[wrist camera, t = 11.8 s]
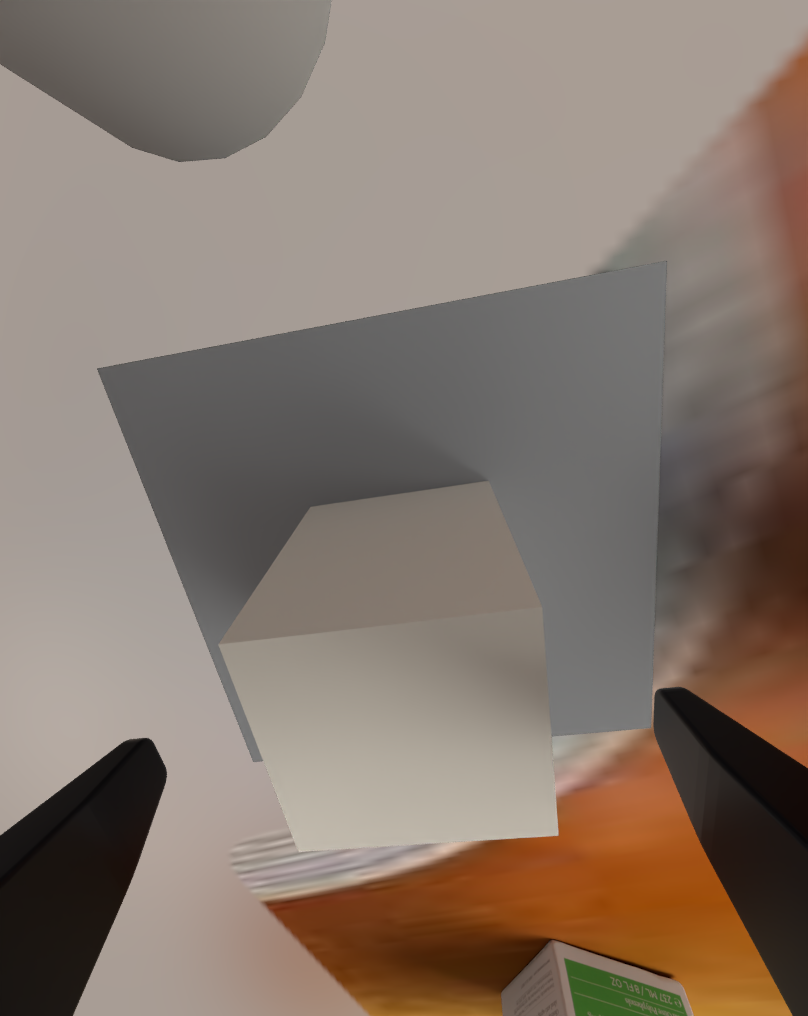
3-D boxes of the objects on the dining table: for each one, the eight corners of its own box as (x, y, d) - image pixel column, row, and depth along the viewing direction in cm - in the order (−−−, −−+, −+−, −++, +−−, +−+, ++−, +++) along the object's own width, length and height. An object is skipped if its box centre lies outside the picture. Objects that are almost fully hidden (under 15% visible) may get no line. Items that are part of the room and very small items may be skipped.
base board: (621, 274, 12) (667, 260, 10) (620, 674, 17) (651, 727, 15) (152, 362, 14) (96, 368, 11) (274, 708, 19) (253, 762, 16)
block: (488, 480, 12) (542, 607, 6) (505, 632, 14) (558, 835, 8) (310, 506, 13) (218, 644, 7) (348, 650, 14) (297, 852, 9)
